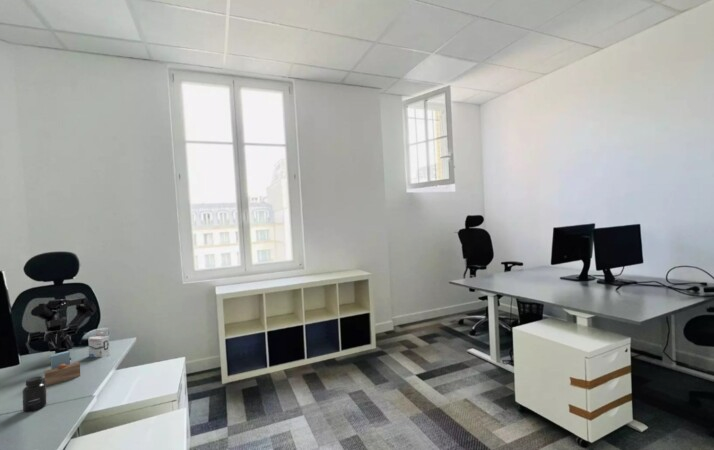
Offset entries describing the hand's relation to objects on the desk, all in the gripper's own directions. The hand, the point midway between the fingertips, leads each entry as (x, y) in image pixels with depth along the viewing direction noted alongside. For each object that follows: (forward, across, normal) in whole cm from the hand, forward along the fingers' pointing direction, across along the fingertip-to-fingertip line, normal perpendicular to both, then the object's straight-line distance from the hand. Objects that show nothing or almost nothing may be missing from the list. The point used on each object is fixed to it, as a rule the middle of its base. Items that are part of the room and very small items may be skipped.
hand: (56, 347), depth 163 cm
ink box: (+6, +19, +12) cm, 23 cm away
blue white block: (+16, 0, -1) cm, 16 cm away
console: (+18, 0, 0) cm, 18 cm away
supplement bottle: (+35, -12, -18) cm, 41 cm away
